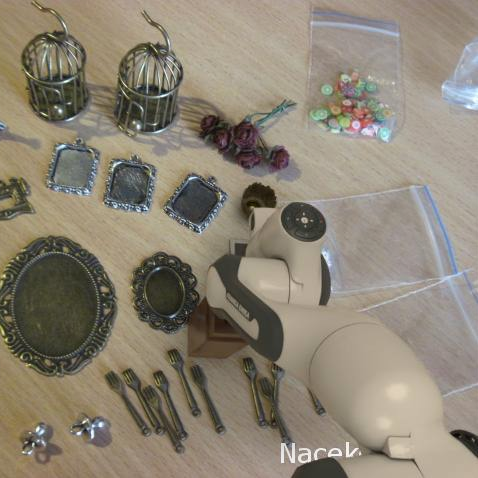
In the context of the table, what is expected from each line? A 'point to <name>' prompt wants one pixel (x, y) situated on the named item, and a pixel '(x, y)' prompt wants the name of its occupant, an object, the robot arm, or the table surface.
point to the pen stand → (211, 334)
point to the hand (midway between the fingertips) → (251, 275)
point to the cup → (257, 198)
